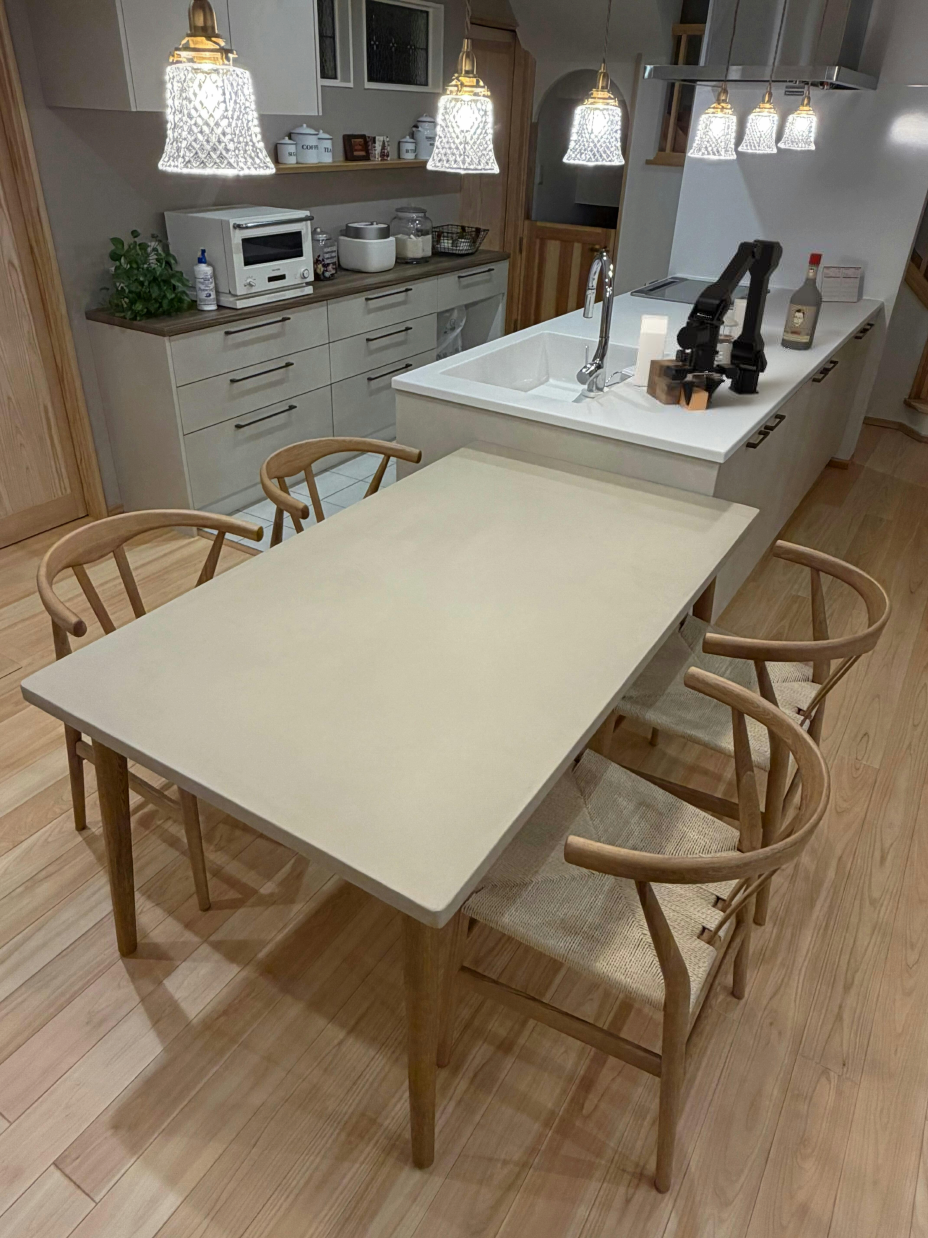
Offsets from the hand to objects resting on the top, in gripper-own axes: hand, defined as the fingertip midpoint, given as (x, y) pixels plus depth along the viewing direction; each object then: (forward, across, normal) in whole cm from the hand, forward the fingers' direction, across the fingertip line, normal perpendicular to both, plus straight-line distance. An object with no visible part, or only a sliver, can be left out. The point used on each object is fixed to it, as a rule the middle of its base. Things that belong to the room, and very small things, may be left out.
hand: (695, 404), depth 223 cm
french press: (+1, -27, -42) cm, 50 cm away
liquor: (+1, -70, -66) cm, 96 cm away
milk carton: (+1, +3, -26) cm, 26 cm away
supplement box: (+1, -50, -68) cm, 84 cm away
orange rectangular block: (+1, 0, -4) cm, 4 cm away
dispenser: (+1, 0, -10) cm, 11 cm away
